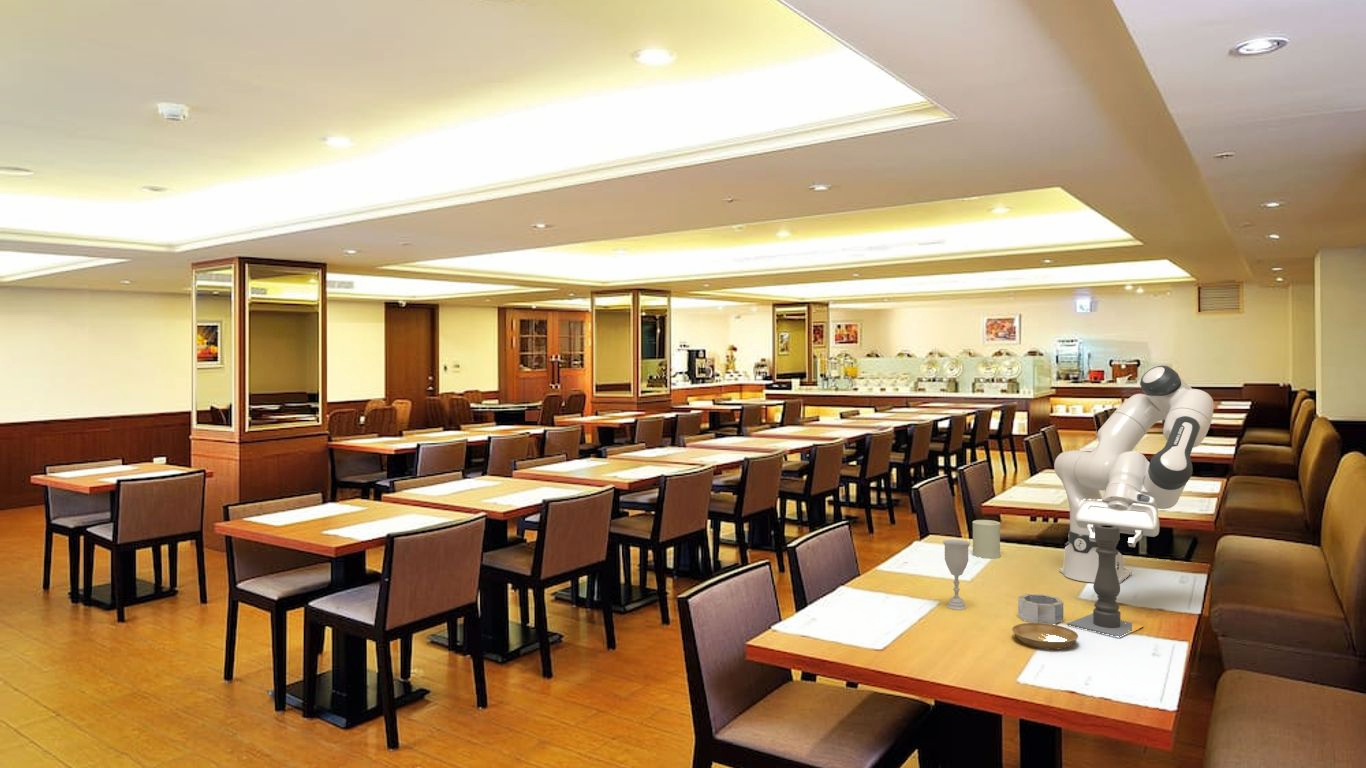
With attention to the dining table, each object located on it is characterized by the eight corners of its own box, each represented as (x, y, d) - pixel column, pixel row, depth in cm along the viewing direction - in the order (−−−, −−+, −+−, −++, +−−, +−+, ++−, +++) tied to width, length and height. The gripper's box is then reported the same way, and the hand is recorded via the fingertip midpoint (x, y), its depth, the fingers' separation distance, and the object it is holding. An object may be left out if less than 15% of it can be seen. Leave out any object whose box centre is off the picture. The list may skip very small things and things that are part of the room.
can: (997, 559, 286) (997, 524, 286) (969, 556, 291) (969, 521, 291) (1003, 554, 294) (1003, 520, 293) (976, 551, 299) (976, 517, 298)
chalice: (971, 605, 234) (971, 540, 234) (969, 611, 228) (969, 545, 228) (944, 602, 237) (944, 538, 237) (940, 608, 231) (940, 543, 231)
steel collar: (1032, 610, 229) (1032, 591, 229) (1069, 619, 221) (1069, 600, 221) (1012, 617, 223) (1012, 598, 223) (1048, 627, 215) (1048, 607, 215)
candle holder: (1088, 620, 218) (1088, 524, 217) (1112, 620, 218) (1112, 523, 217) (1101, 628, 211) (1101, 529, 211) (1125, 627, 212) (1125, 528, 211)
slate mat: (1092, 615, 224) (1092, 613, 224) (1143, 627, 213) (1143, 625, 213) (1067, 625, 216) (1067, 623, 216) (1119, 638, 205) (1119, 636, 205)
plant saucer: (998, 637, 209) (998, 626, 208) (1045, 629, 214) (1045, 619, 214) (1043, 656, 195) (1043, 645, 195) (1092, 648, 200) (1092, 637, 200)
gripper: (1078, 490, 236) (1067, 530, 229) (1161, 498, 223) (1152, 541, 216) (1082, 504, 240) (1072, 544, 233) (1164, 513, 227) (1155, 555, 220)
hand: (1111, 543), depth 224 cm, fingers open, 8 cm apart
